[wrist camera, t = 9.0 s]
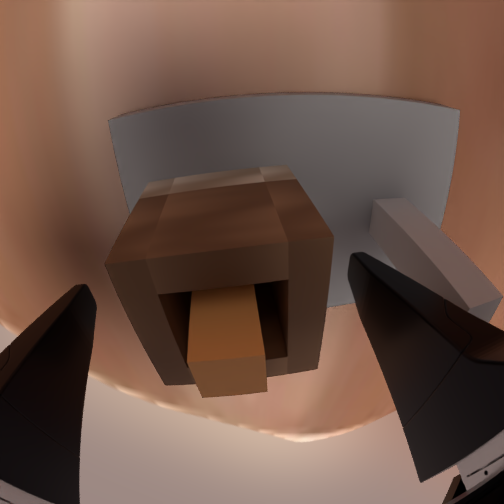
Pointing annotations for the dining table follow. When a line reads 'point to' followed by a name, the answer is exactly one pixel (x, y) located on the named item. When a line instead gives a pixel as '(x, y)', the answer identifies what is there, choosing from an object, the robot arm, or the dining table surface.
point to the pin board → (320, 193)
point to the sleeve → (225, 263)
